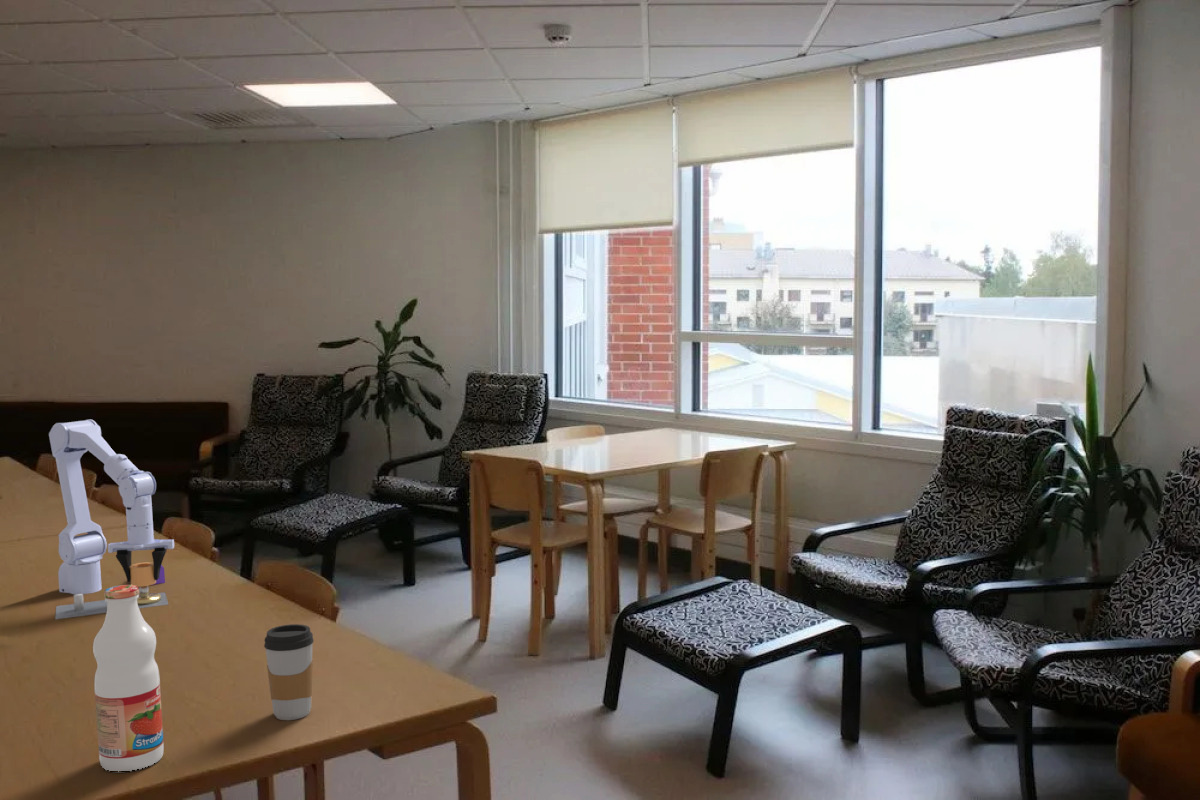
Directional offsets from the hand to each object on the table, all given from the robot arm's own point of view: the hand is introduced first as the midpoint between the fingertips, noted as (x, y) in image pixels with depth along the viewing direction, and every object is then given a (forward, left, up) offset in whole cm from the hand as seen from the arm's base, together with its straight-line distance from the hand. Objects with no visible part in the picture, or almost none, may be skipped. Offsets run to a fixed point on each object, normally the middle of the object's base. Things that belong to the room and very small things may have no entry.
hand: (143, 579), depth 256 cm
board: (-5, -5, -7) cm, 10 cm away
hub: (0, 0, -5) cm, 5 cm away
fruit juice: (+62, -71, -7) cm, 95 cm away
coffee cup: (+75, -47, -7) cm, 89 cm away
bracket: (-14, +17, -7) cm, 23 cm away
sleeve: (0, 0, -1) cm, 1 cm away
